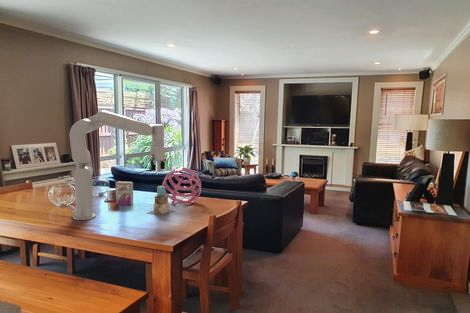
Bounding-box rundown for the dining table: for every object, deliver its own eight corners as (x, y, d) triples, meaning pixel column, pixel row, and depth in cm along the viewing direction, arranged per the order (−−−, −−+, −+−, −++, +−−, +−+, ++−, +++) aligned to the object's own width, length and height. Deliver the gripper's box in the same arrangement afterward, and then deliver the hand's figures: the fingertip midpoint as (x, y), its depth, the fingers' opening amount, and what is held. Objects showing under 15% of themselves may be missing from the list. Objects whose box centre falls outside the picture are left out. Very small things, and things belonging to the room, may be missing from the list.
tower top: (154, 203, 209) (154, 196, 208) (160, 201, 214) (160, 194, 214) (162, 204, 206) (162, 196, 206) (167, 202, 212) (167, 195, 211)
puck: (155, 195, 208) (155, 186, 208) (160, 194, 213) (160, 185, 213) (162, 196, 206) (162, 187, 206) (166, 195, 211) (166, 186, 211)
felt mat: (145, 213, 207) (145, 213, 207) (158, 208, 220) (158, 208, 220) (163, 216, 202) (163, 216, 202) (176, 211, 215) (176, 210, 215)
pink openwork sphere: (189, 183, 212) (195, 156, 233) (151, 190, 218) (160, 164, 239) (204, 210, 229) (208, 183, 250) (168, 216, 235) (175, 190, 256)
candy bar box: (115, 205, 228) (115, 182, 227) (118, 203, 233) (118, 181, 232) (130, 205, 227) (130, 182, 226) (133, 204, 232) (133, 181, 231)
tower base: (153, 212, 209) (153, 203, 208) (160, 210, 215) (160, 201, 215) (162, 214, 206) (162, 204, 206) (168, 211, 213) (168, 202, 212)
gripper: (161, 142, 217) (161, 168, 218) (144, 143, 201) (144, 170, 203) (170, 143, 214) (170, 168, 215) (154, 144, 198) (154, 171, 200)
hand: (157, 169), depth 209 cm, fingers open, 9 cm apart
